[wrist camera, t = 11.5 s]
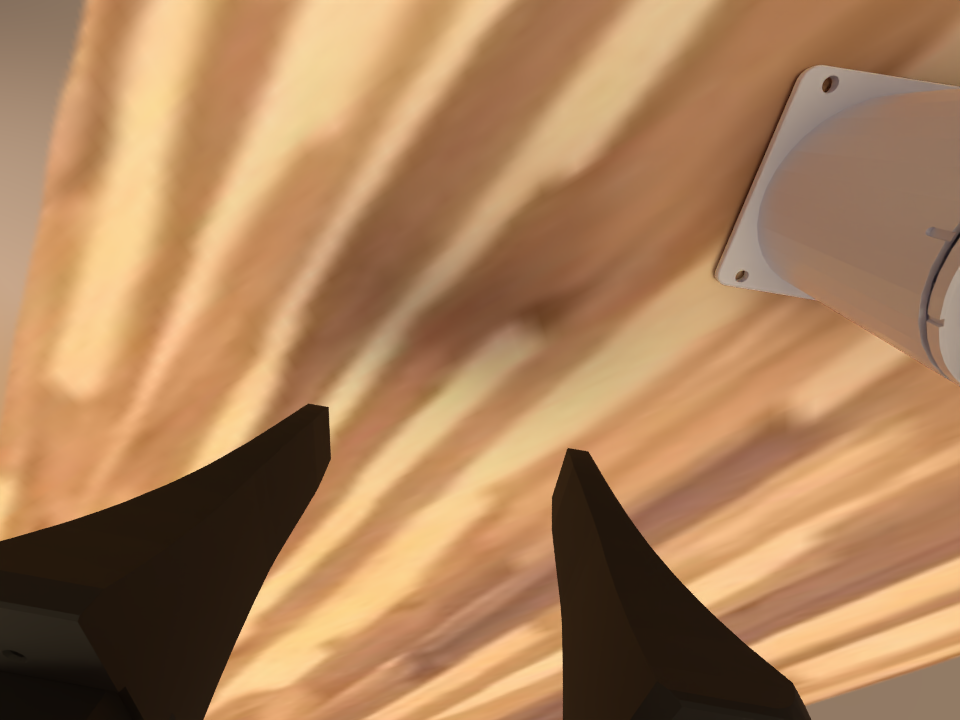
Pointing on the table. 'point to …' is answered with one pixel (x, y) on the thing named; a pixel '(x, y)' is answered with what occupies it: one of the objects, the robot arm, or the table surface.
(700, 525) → the table surface
